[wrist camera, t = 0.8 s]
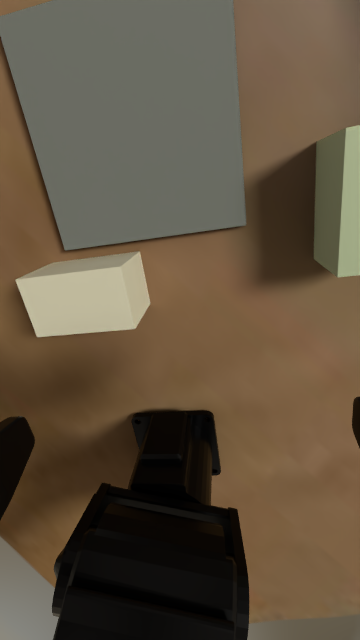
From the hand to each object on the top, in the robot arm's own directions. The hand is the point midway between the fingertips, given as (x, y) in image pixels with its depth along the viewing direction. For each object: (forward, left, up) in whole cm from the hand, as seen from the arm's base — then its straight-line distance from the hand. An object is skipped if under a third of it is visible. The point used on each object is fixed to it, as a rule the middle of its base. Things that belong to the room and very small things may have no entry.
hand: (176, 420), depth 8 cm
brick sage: (+4, -9, -12) cm, 15 cm away
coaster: (+9, +3, -12) cm, 15 cm away
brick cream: (+1, +7, -12) cm, 14 cm away
